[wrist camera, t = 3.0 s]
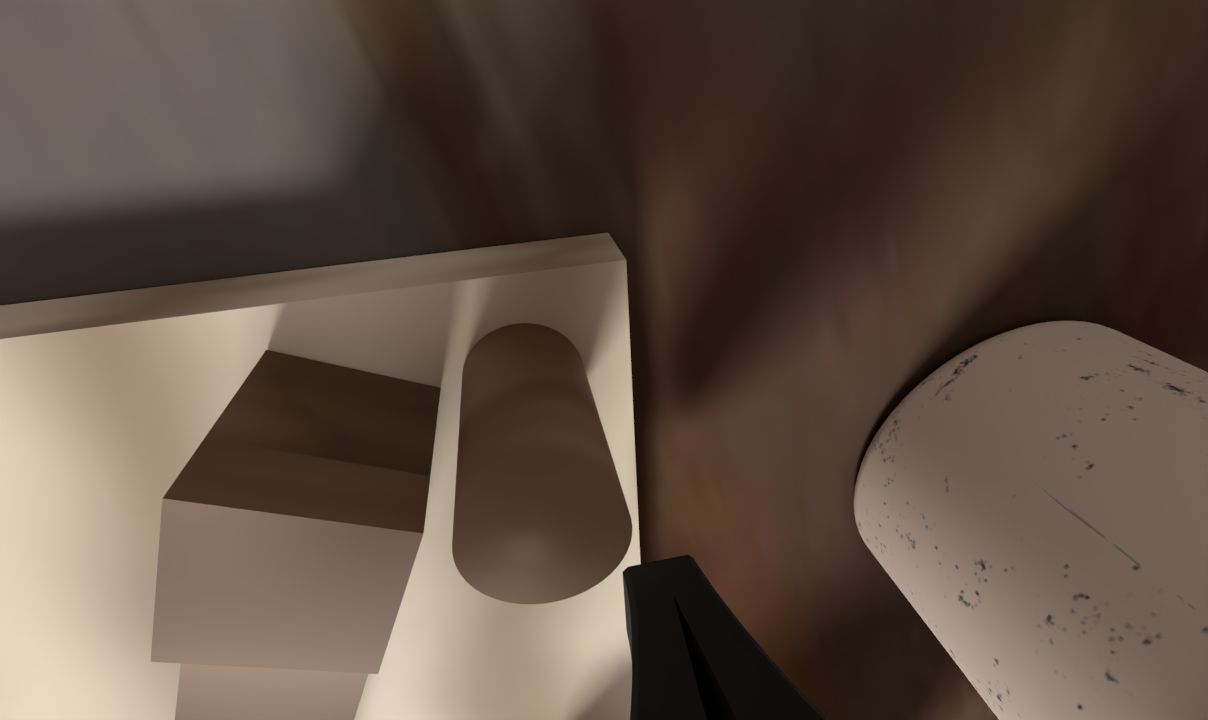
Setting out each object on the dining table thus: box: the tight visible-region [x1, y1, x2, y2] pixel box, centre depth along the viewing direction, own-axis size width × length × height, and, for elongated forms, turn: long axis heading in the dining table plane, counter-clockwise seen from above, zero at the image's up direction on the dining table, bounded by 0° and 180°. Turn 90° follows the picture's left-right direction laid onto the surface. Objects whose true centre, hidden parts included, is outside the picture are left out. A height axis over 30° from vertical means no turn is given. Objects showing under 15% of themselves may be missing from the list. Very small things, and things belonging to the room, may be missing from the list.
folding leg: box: [151, 350, 441, 720], centre depth 11 cm, size 14×3×4 cm, turn 158°
